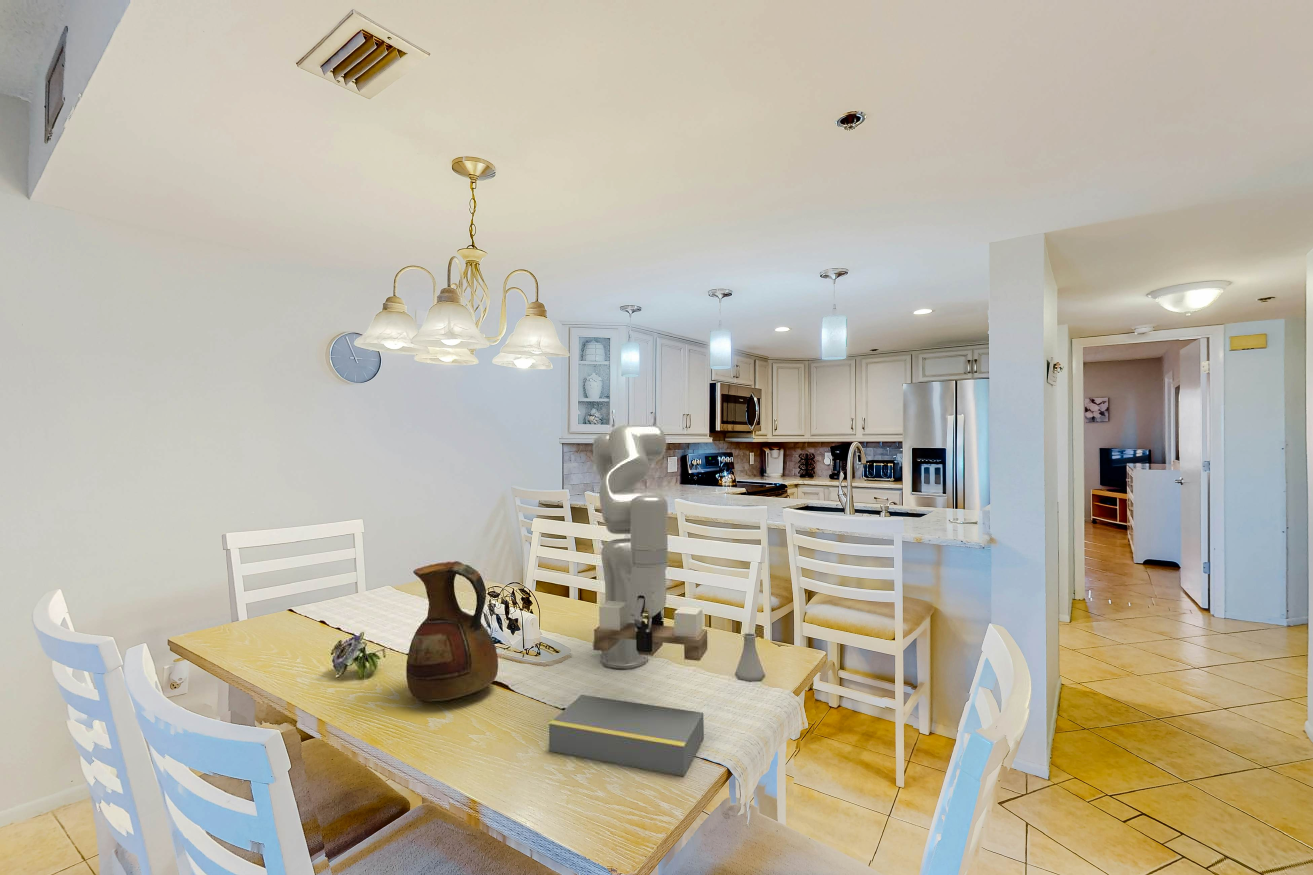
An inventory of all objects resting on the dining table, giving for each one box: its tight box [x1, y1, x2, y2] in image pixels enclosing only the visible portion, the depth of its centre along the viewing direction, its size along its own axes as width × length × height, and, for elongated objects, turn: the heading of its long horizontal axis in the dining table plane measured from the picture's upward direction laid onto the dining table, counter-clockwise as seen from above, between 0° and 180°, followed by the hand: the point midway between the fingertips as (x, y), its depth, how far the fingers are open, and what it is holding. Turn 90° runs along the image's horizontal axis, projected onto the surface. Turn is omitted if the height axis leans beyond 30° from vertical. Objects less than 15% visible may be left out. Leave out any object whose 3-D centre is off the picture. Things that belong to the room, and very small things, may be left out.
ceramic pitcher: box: [405, 560, 499, 702], centre depth 132 cm, size 20×20×30 cm
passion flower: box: [330, 631, 387, 679], centre depth 144 cm, size 11×11×12 cm
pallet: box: [593, 623, 708, 662], centre depth 116 cm, size 22×6×4 cm, turn 71°
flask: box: [734, 632, 766, 682], centre depth 140 cm, size 7×7×10 cm
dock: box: [548, 694, 705, 777], centre depth 108 cm, size 26×13×5 cm, turn 71°
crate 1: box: [598, 601, 628, 631], centre depth 119 cm, size 4×4×4 cm
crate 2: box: [673, 606, 703, 638], centre depth 114 cm, size 4×4×4 cm
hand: (650, 644), depth 116 cm, fingers closed on pallet, 6 cm apart
